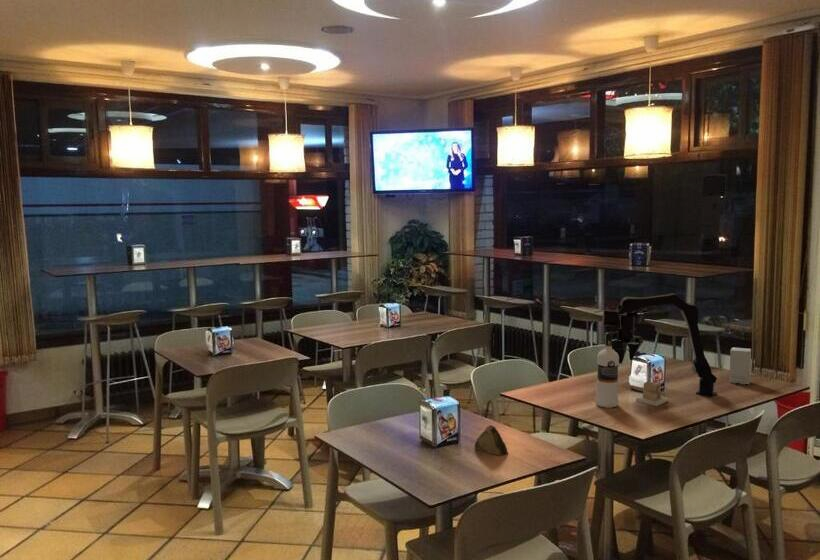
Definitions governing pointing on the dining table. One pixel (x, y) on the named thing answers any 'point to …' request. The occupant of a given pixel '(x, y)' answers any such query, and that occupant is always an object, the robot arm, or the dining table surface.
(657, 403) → the trivet
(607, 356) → the vodka
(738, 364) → the skincare box
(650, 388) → the oak block
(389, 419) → the dining table surface
